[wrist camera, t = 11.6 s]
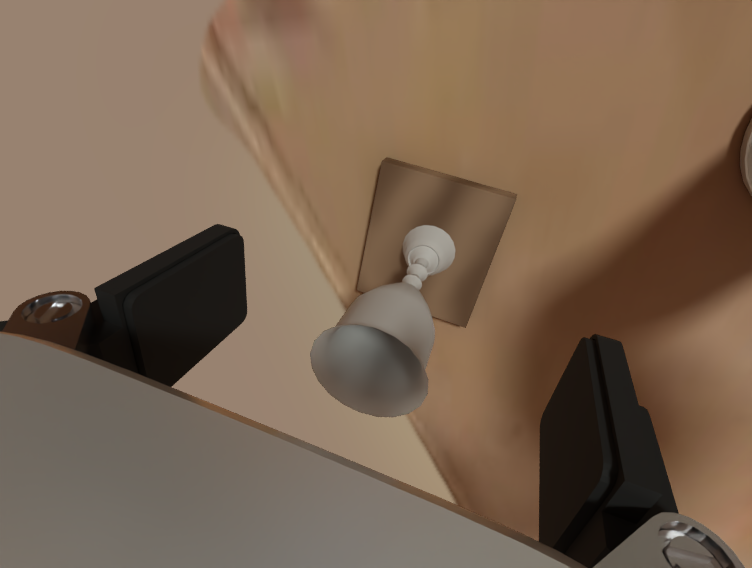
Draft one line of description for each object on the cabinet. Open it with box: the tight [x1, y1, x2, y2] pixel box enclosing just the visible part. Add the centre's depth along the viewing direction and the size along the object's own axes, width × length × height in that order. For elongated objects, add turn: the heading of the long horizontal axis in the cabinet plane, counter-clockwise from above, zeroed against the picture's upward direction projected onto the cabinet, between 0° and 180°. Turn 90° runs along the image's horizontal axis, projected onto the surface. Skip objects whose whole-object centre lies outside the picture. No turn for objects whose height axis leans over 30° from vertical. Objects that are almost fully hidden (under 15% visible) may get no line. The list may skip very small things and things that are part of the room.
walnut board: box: [357, 158, 517, 328], centre depth 40 cm, size 12×14×2 cm
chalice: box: [310, 225, 455, 417], centre depth 31 cm, size 7×7×18 cm
